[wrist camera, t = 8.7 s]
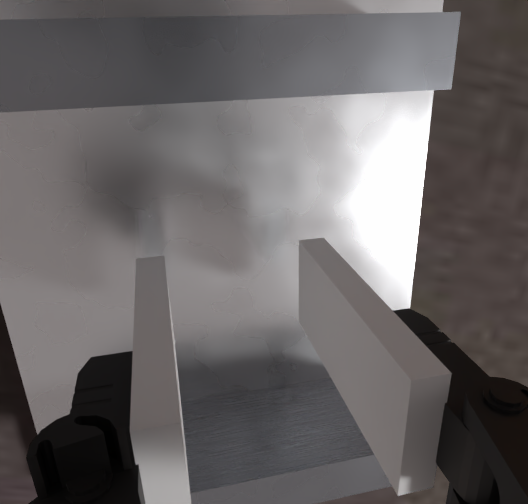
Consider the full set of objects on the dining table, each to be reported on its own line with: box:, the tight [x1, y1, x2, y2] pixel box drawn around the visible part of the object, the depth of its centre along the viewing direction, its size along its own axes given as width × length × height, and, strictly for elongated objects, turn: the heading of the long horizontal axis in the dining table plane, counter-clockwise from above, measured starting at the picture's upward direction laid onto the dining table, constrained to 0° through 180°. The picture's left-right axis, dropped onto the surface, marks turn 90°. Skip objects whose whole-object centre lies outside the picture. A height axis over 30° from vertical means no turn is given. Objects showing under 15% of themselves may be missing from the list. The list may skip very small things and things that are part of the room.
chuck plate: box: [0, 0, 461, 504], centre depth 15 cm, size 18×14×5 cm
